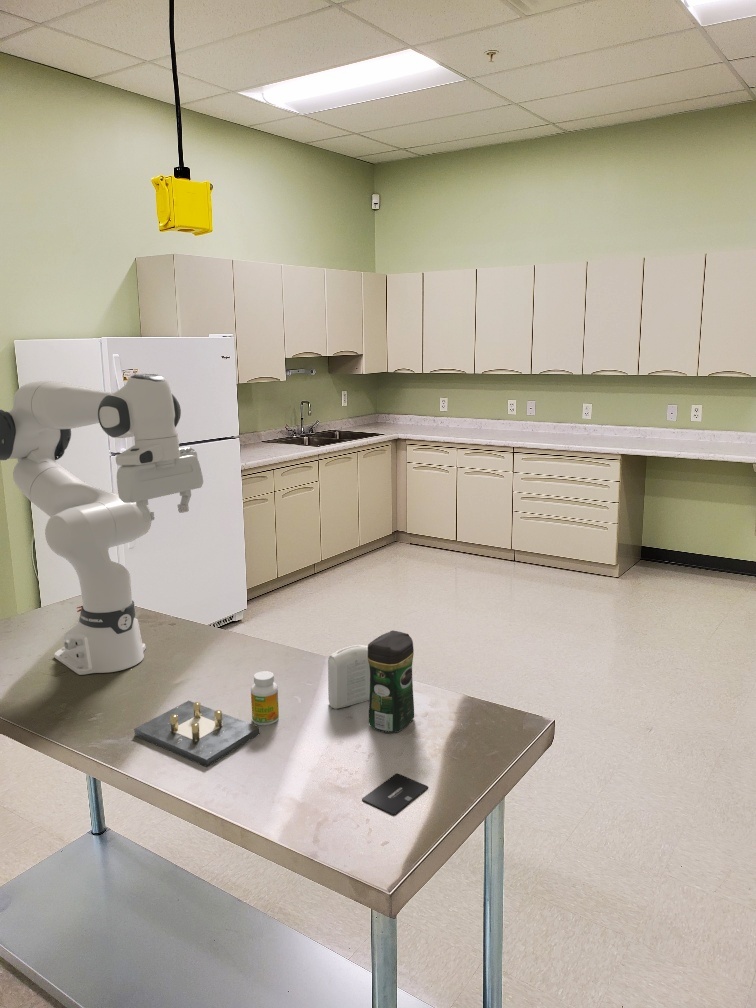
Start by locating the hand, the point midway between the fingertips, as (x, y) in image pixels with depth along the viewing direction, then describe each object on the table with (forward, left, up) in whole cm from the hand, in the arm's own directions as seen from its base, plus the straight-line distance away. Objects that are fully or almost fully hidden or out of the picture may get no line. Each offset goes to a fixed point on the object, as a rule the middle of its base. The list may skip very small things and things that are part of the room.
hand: (166, 516), depth 163 cm
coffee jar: (+49, +12, -39) cm, 64 cm away
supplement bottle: (+27, -1, -39) cm, 47 cm away
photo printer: (+37, +15, -39) cm, 56 cm away
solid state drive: (+63, -8, -40) cm, 75 cm away
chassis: (+20, -13, -39) cm, 45 cm away
